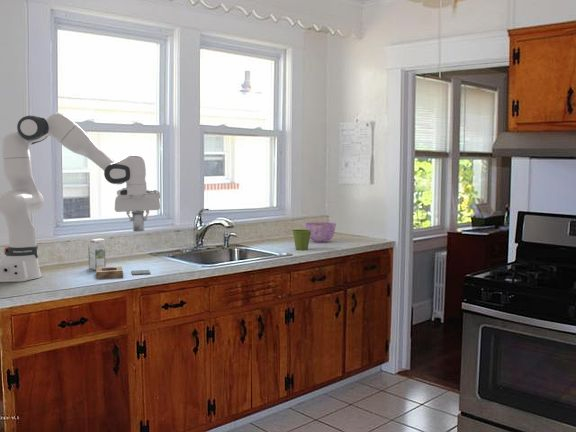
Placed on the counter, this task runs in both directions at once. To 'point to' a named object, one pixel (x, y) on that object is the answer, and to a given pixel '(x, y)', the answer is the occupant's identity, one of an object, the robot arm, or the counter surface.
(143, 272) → the mat
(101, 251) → the syrup box
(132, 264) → the counter surface
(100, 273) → the brown flat square block
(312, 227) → the purple rounded bowl
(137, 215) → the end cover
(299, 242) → the plant pot
